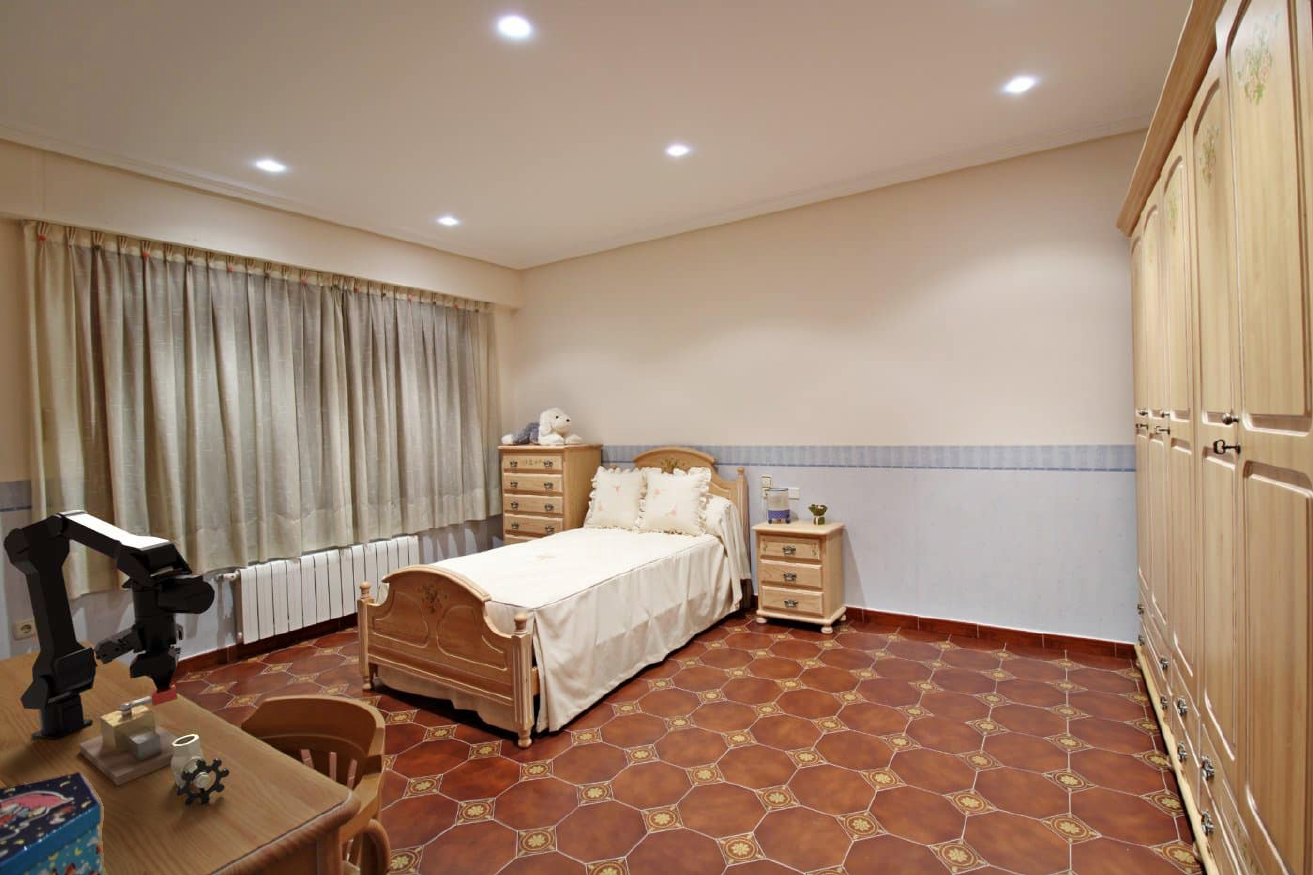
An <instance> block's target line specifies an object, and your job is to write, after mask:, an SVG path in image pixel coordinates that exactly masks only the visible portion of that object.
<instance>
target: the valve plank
mask: <svg viewBox="0 0 1313 875" xmlns="http://www.w3.org/2000/svg"><path fill="white" fill-rule="evenodd" d="M155 727H156V733H157V734H159V735H160V741H161V751H162V753H159V754H157V755H154V756H152V757H150V758H147V759H145V760H142V761H138V760H137V759H136V758H134V757H133V756H132V755H131V754H129V753H128V752H127V751H126V752H124V753H121V754H118V755H116V754H114V753H113V752H112V751H111V750H109V749H108V748H107V747H106V746H104V745H103V739H102V734H101V735H99V736H96V737H93V738H91V739H88V740H85V741H82V742H79V743H78V748H79V753H80V754H81V755H83V757H85V758H86V759H87V760H88V761H89V762H90V763H91V764H92V765H94V766H95V767H96V768H97V769H98V770H99V771H100V772H102V773H103V774H104V775H105V776H106V777H107V778H108V779H109V780H111V781H112V782H113V783H114V784H115V785H116V786H118V787H119V786H121V785H123V784H125V783H127V782H128V783H129V782H130V781H133V780H135V779H138V778H140V777H143V776H144V775H147V774H149V773H152V772H154V771H156V770H159V769H161V768H163V767H167V766H168V765H171V759H172V757H173V753H172V747H171V743H173V742H174V741H175V740H177V739H179V738H180V737H177V735H174V734H173V733H171V732H170V731H169V730H168V729H165V728H164V727H162V726H161V725H159V724H158V723H157V722H155Z"/></svg>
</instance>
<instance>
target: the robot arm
mask: <svg viewBox="0 0 1313 875" xmlns="http://www.w3.org/2000/svg"><path fill="white" fill-rule="evenodd" d="M71 541H74V542H77V543H78V544H81V545H83V546H84V547H87V548H89V549H92V550H94V551H96V552H97V553H100V554H103V555H105V556H107V557H109V558H110V559H112V560H113V562H114V565H115V566H114V567H115V568H116V569H117V570H119V571H120V572H122V573H123V574H125V575H126V576H127V577H128V579H127V580H126V581H125V582H124V583H122V584H121V589H122V590H123V589H124V590H125V589H126V590H131V595H132V605H133V615H134V616H133V617H134V619H133V623H132V624H131V627H129V628H126V629H125V628H124V629H123V630H121V631H119V632H117V633H115V634H112V635H110V636H108V637H106V638H104V639H102V640H101V641H99V642H97V643H96V644H95V646H94V649H93V647H91V646H89V647H87V648H86V646H84V645H83V644H81V642H79V641H78V639H77V635H76V630H75V626H74V621H73V616H72V611H71V606H70V601H69V594H68V592H67V586H66V581H65V577H64V576H65V575H64V571H63V566H64V564H65V562H66V561H67V558H68V557H69V555H70V552H71V543H70V542H71ZM3 549H4V550H5V552H6V555H7V557H8V560H9V563H10V564H11V565H12V566H14V568H16V569H17V570H19V572H21V573H22V574H24V575H25V579H26V584H27V589H28V594H29V600H30V603H31V608H32V613H33V614H32V615H33V619H34V624H35V629H36V633H37V638H38V644H39V649H40V651H39V654H38V655H37V657H36V660H35V662H33V665H32V668H31V675H32V682H31V683H30V684H29V686H28V687H27V688H26V690H25V691H24V693H23V694H22V695H21V696H20V702H21V704H22V706H23V709H25V710H38V716H39V717H38V718H39V726H40V730H38V731H36V732H33V733H32V734H31V735H30V737H31V738H34V739H43V740H44V739H46V740H57V739H60V738H63V737H64V736H66V735H70V734H72V733H73V732H75V731H78V730H80V729H82V728H84V727H86V726H88V725H91V724H93V723H94V720H93V719H89V718H84V717H85V716H84V710H83V709H84V708H83V702H82V696H81V694H82V693H84V692H87V691H90V690H92V689H93V687H94V683H95V682H94V681H95V677H96V675H97V668H98V667H99V666H98V664H97V662H96V660H97V661H101V664H102V665H107V664H110V663H112V662H113V661H114V660H115V659H118V658H119V657H122V656H124V655H126V654H128V653H130V652H133V654H136V656H135V657H134V658H133V659H132V661H131V662H130V666H129V676H130V677H129V678H130V679H138V678H142V677H146V676H150V678H151V679H152V681H153V683H154V686H155V688H156V690H158V689H161V688H165V687H168V686H171V682H172V680H173V676H174V674H175V670H176V669H177V666H178V662H179V659H180V655H181V652H182V647H175V645H177V643H178V640H179V641H182V640H184V637H185V634H184V632H185V631H184V626H183V625H182V624H179V623H177V619H176V618H177V615H178V614H181V615H183V614H185V615H201V614H203V613H205V612H207V611H208V610H209V609H210V608H211V606H212V605H213V603H214V602H215V596H216V591H215V589H214V588H213V586H212V585H211V583H209V582H207V581H204V575H203V574H194V575H193V572H194V571H193V570H192V569H191V567H190V565H189V563H188V562H187V561H186V560H185V559H184V557H183V556H182V555H181V553H180V552H179V551H178V549H177V547H176V545H175V544H174V543H173V542H172V541H171V540H168V539H163V538H161V537H160V538H159V537H156V536H144V535H143V536H142V535H141V536H140V535H135V534H132V533H131V532H128V531H126V530H124V529H121V528H119V527H117V526H115V525H113V524H111V523H108V522H106V521H103V520H102V519H100V518H98V517H95V516H92V515H90V512H88V511H87V510H83V509H75V510H74V509H73V510H69V511H62V512H56V513H54V514H52V515H50V516H48V517H45V518H44V519H42V520H39V521H37V522H34V523H31V524H29V525H25V526H19V527H14V528H13V529H11V530H10V531H9V532H8V534H7V535H6V536H5V537H4V540H3ZM95 655H96V656H95Z"/></svg>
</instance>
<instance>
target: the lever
mask: <svg viewBox="0 0 1313 875" xmlns="http://www.w3.org/2000/svg"><path fill="white" fill-rule="evenodd" d="M174 700H178V692H177V687H176V685H175V684H173V685H169V686H168V687H165V688H161V689H158V690H157V689H155V690H151V691H150V695H149V696H145V697H142V698H138V699H136V700H135V699H134V700H132V701H127V702H124V703H121V704H119V705H118V710H119V711H125V710H129V709H131V708H134V707H138V706H141V705H144V706H145V705H147V704H148V705H149V704H151V705H152V707H155V706H157V705H161V704H164V703H169V702H171V701H174Z"/></svg>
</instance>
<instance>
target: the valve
mask: <svg viewBox="0 0 1313 875" xmlns="http://www.w3.org/2000/svg"><path fill="white" fill-rule="evenodd" d="M178 738H179V739H177V740H175V741H174V742H173V743H171V747H172V753H173V757H172V759H171V764H170V768H171V771H172V772H173V773H174V782H175V784H176V786H177V787H175V789H174V792H175V794H176V796H178V797H182V796H183V795H184V794H186V795H187V796H186V797H184V798H183V799H182V802H183V804H184V806H186V807H187V806H191V805H192V804H193V803H194V801H195V800H196V799H199V801H200V803H201V804H202V805H205V804H208V803H209V802H210V800H211V798H210V797H211V796H210V795H211V794H212V793H213V792H216V793H222V792H223V791H224V790H225V785H224V783H223V782H221V779H225V778H227V777H228V776H229V775H230V770H229V769H228V768H227V767H223V768H222V770H220V769H219V767H221V766H222V765H223V760H221V758H219V757H216V758H214V759H213V760H212V763H211V764H207V761H206V760H205V759H204V751H203V750H202V748H201V741H200V736H198V734H188V735H185V736H182V737H178ZM211 772H213V773H215V778H214V782H213V783H212V785H211V786H210V787H209V788H207V789H205V787H206V786H208V785H209V784H210V782H211V781H210V779H211V778H210V773H211ZM192 784H193V785H194V786H195V787H196V788H198V789H199V792H193V791H192V790H191V787H190V786H191V785H192Z"/></svg>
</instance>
